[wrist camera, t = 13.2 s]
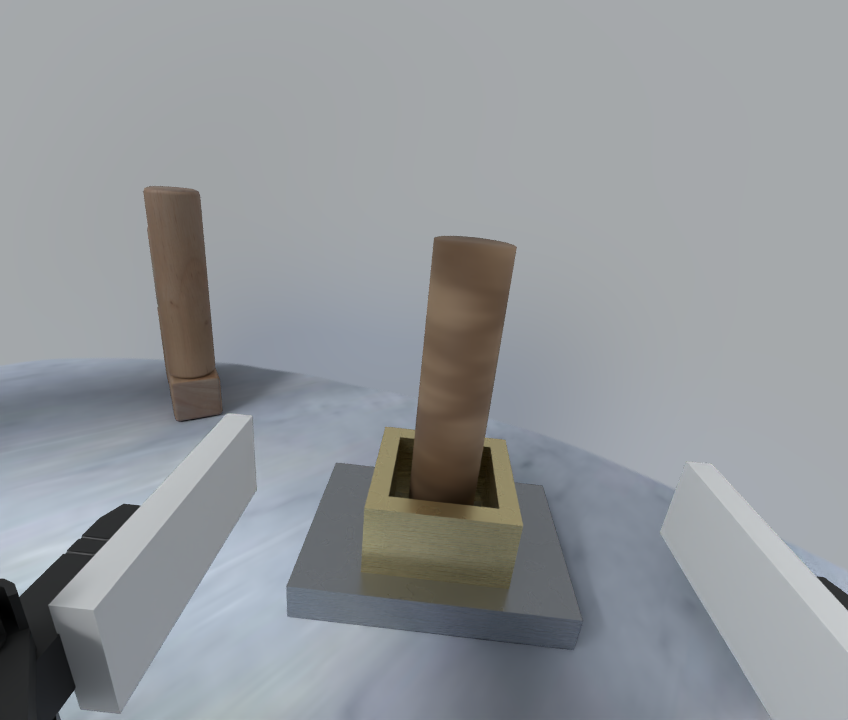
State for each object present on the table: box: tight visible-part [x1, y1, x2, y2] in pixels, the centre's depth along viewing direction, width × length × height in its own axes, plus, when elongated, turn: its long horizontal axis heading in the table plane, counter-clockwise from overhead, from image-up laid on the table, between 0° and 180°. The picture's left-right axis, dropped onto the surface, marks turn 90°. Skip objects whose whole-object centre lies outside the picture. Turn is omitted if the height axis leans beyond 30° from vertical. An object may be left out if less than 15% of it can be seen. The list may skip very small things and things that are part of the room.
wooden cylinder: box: [409, 236, 517, 506], centre depth 23 cm, size 4×4×16 cm
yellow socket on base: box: [287, 427, 583, 650], centre depth 25 cm, size 14×10×6 cm
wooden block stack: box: [144, 186, 223, 421], centre depth 38 cm, size 4×11×18 cm, turn 31°
